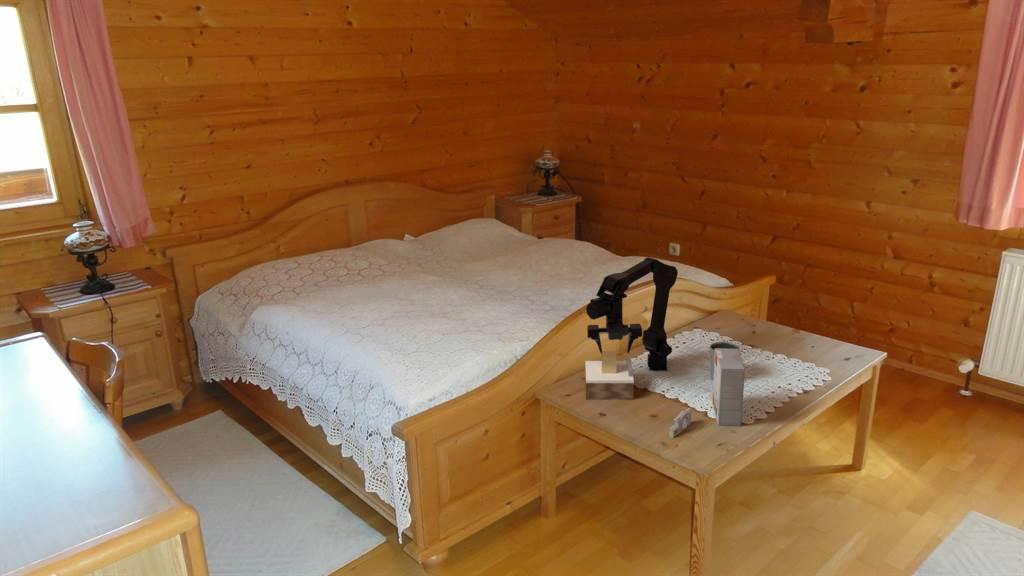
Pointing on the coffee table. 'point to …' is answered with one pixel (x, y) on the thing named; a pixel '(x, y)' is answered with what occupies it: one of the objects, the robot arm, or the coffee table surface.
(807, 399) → the coffee table surface
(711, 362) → the drinking glass
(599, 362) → the box lid
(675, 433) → the garden wall model
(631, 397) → the storage box
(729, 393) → the hard drive box
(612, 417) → the coffee table surface
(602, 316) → the robot arm
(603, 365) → the block
